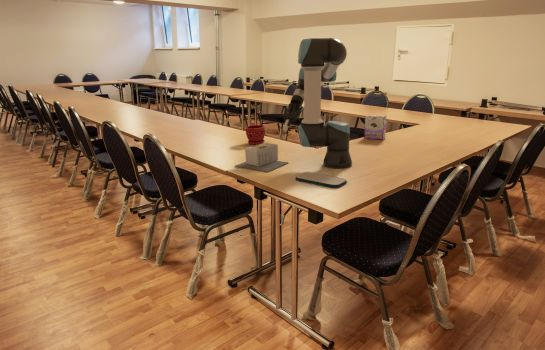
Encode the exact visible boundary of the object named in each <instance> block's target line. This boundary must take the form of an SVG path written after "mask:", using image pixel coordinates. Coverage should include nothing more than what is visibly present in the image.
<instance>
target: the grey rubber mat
mask: <svg viewBox="0 0 545 350" xmlns="http://www.w3.org/2000/svg"><path fill="white" fill-rule="evenodd" d="M288 164H289V162H288V161H280V160H277V161H273V162H270V163H267V164H264V165H261V166H254V165H249V164H246V161H244V162H241V163H238V164H236V165H234V168H240V169H246V170H252V171H256V172H262V171H263V173H270V172H272V171H275V170H277V169H280V168H281V167H284V166H286V165H288Z"/></svg>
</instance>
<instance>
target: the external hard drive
mask: <svg viewBox="0 0 545 350" xmlns="http://www.w3.org/2000/svg"><path fill="white" fill-rule="evenodd" d="M295 180H296V181H297V182H301V183H305V184H310V185H315V186H321V187H325V188H330V189H340V188H341V187H344V186H345V185H347V183H348V181H347V180H348V179H346V178H343V177H339V176H334V175H328V174H321V173H316V172H311V171H310V172H305V171H304V172H302V173H299V174H297V175H296V176H295Z"/></svg>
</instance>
